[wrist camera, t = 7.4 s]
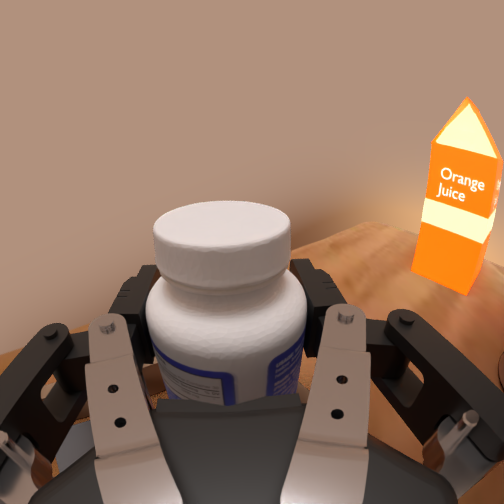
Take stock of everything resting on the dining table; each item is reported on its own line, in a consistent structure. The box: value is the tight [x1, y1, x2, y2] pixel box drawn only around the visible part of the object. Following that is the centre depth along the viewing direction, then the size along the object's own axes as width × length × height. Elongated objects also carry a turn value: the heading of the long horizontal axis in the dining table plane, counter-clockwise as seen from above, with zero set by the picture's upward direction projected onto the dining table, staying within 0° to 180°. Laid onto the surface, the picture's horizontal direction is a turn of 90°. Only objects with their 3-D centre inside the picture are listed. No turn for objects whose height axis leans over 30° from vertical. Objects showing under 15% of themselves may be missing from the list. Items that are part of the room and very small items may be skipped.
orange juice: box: [411, 97, 503, 296], centre depth 26 cm, size 8×9×20 cm
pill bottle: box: [146, 201, 307, 406], centre depth 11 cm, size 5×5×10 cm
